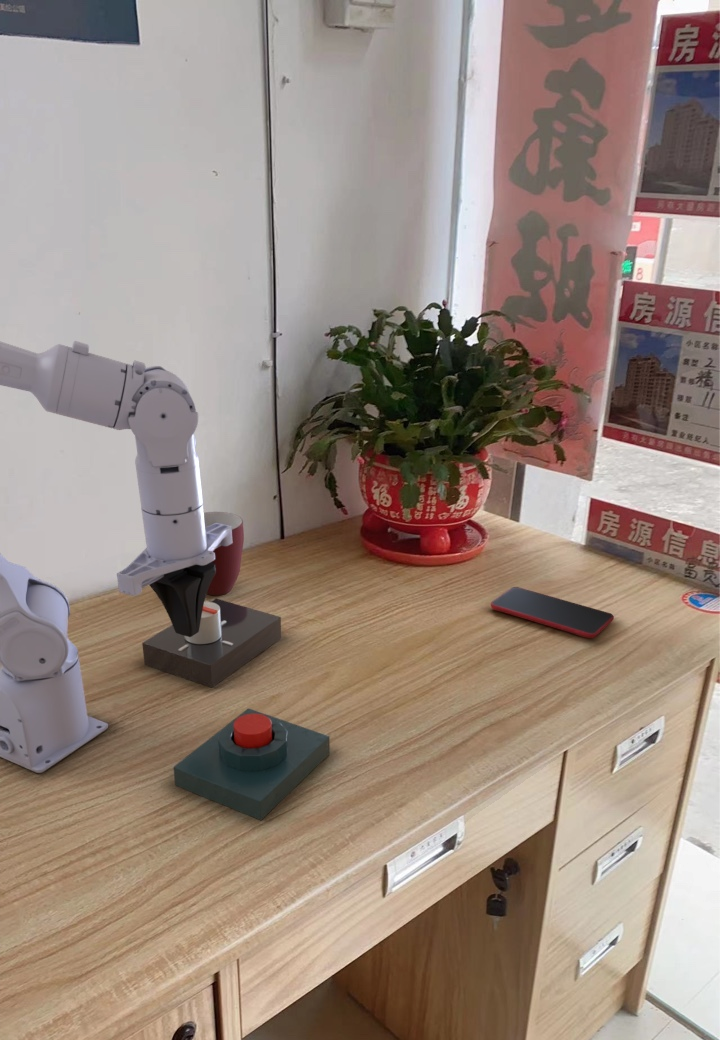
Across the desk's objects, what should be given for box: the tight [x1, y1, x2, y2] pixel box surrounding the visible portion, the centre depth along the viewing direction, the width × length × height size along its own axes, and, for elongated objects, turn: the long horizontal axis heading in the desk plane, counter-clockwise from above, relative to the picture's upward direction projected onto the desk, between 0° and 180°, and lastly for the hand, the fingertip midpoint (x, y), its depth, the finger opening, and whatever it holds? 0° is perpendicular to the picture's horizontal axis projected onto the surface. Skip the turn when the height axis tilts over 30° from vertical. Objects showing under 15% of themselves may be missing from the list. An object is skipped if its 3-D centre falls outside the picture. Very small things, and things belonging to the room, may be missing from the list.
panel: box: [141, 598, 282, 688], centre depth 107 cm, size 14×10×3 cm
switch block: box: [173, 708, 331, 821], centre depth 86 cm, size 12×10×4 cm
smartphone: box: [490, 586, 615, 639], centre depth 117 cm, size 7×1×15 cm
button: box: [234, 714, 272, 748], centre depth 84 cm, size 4×4×2 cm
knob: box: [184, 600, 222, 644], centre depth 103 cm, size 4×4×4 cm
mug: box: [204, 511, 245, 596], centre depth 120 cm, size 10×8×10 cm
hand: (187, 632), depth 89 cm, fingers closed
